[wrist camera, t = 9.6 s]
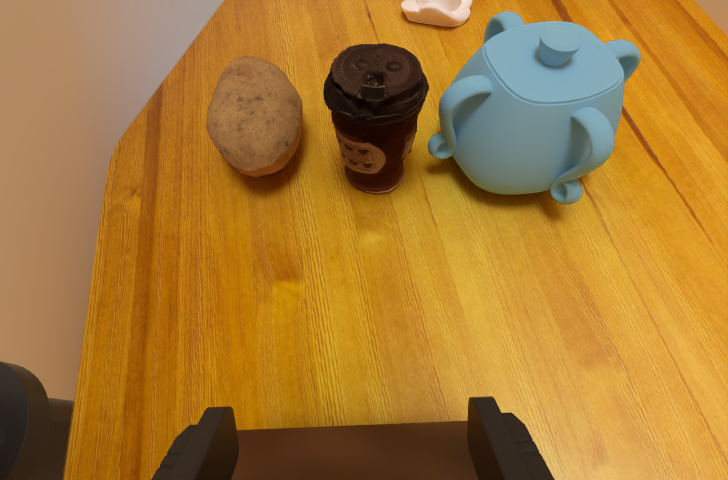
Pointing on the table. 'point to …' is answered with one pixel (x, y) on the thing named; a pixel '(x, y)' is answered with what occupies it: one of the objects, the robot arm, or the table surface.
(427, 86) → the coffee cup
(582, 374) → the table surface
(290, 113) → the potato
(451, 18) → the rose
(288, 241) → the table surface
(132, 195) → the table surface
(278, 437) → the lid
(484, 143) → the decorative pot
